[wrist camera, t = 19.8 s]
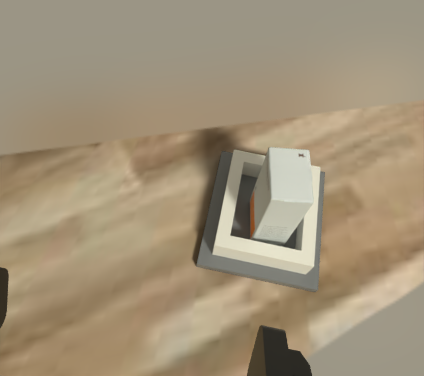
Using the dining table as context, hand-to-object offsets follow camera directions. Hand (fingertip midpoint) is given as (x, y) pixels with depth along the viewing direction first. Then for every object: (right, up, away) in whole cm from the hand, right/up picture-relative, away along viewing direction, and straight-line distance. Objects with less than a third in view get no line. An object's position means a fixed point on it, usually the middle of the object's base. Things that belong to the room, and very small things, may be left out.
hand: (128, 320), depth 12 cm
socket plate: (+9, 0, +36) cm, 37 cm away
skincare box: (+9, 0, +35) cm, 36 cm away
